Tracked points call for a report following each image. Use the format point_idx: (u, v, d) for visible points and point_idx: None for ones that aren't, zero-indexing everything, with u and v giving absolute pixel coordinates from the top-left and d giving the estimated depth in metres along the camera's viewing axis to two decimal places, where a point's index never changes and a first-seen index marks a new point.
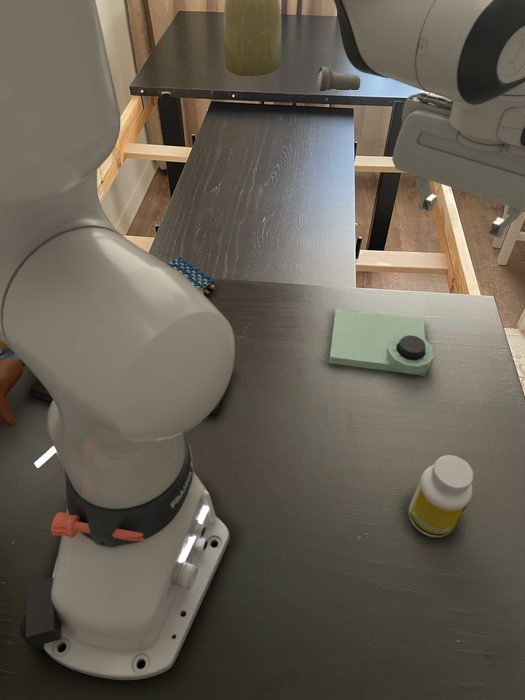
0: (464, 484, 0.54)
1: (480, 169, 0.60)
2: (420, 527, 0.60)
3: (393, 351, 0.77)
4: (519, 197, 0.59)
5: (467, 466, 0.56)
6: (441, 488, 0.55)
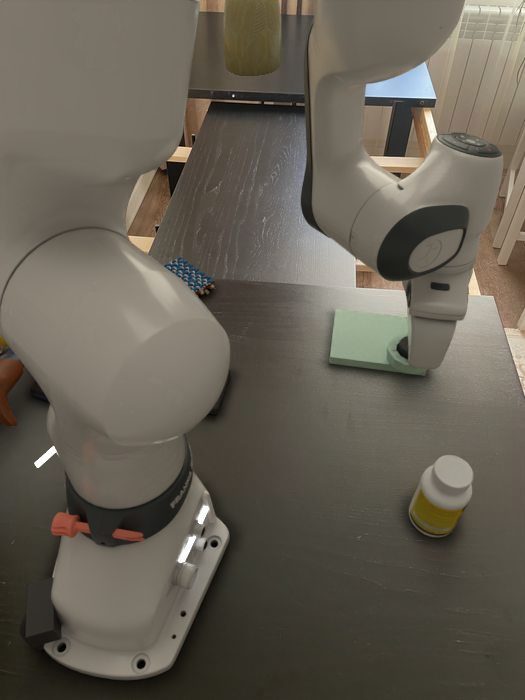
0: (464, 484, 0.54)
1: None
2: (420, 527, 0.60)
3: (393, 351, 0.77)
4: (409, 339, 0.68)
5: (467, 466, 0.56)
6: (441, 488, 0.55)
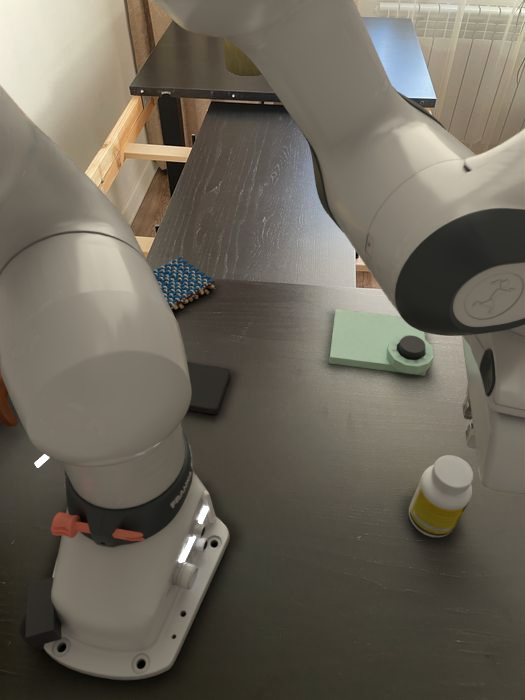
0: (464, 484, 0.54)
1: (479, 376, 0.44)
2: (420, 527, 0.60)
3: (393, 351, 0.77)
4: (479, 438, 0.42)
5: (467, 466, 0.56)
6: (441, 488, 0.55)
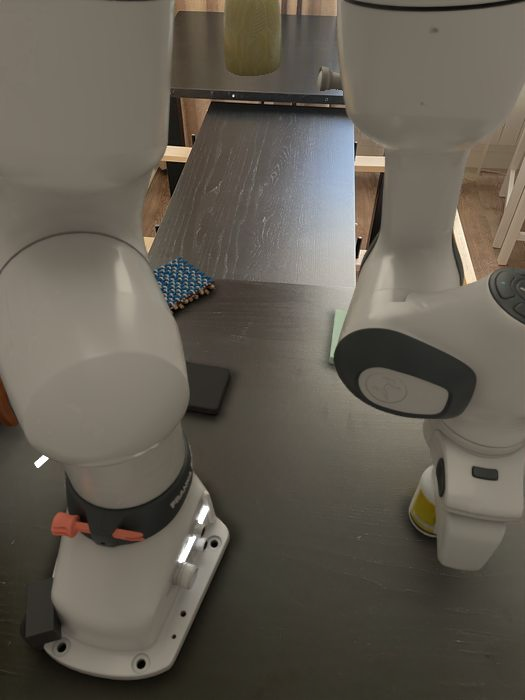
0: None
1: None
2: (420, 527, 0.60)
3: None
4: (438, 521, 0.51)
5: None
6: None
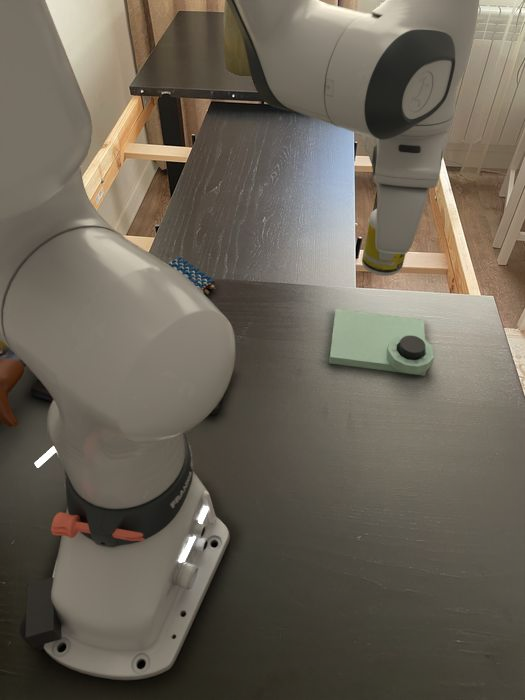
0: None
1: None
2: (370, 266, 0.69)
3: (393, 351, 0.77)
4: None
5: None
6: None
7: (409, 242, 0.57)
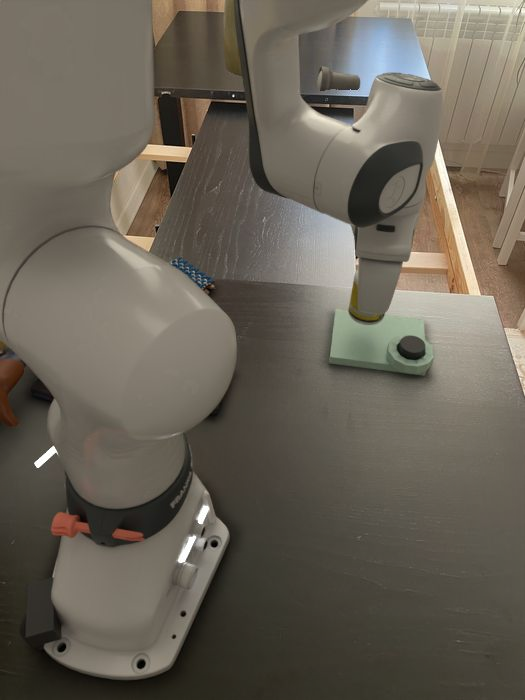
0: None
1: None
2: (355, 317, 0.78)
3: (393, 351, 0.77)
4: None
5: None
6: None
7: (386, 305, 0.66)
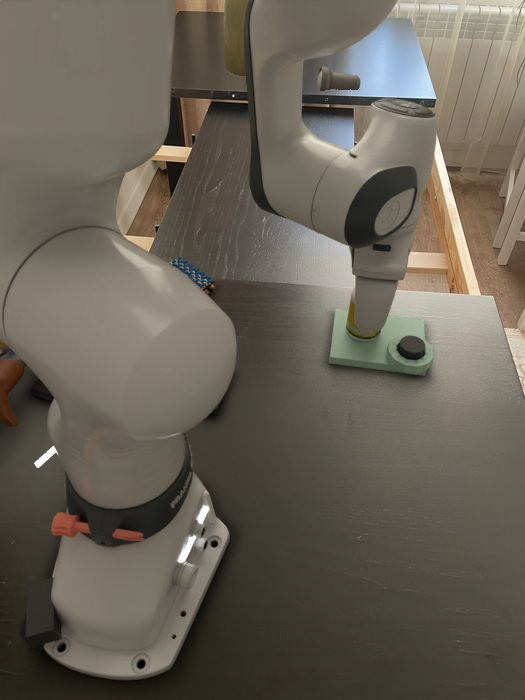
0: None
1: None
2: (352, 333, 0.80)
3: (393, 351, 0.77)
4: None
5: None
6: None
7: (382, 322, 0.68)
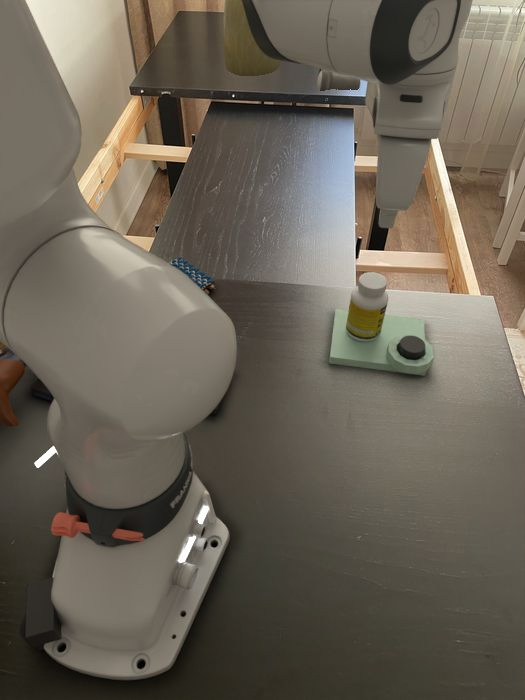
0: (379, 287, 0.75)
1: None
2: (352, 333, 0.80)
3: (393, 351, 0.77)
4: None
5: (383, 278, 0.76)
6: (363, 292, 0.75)
7: (410, 197, 0.55)
